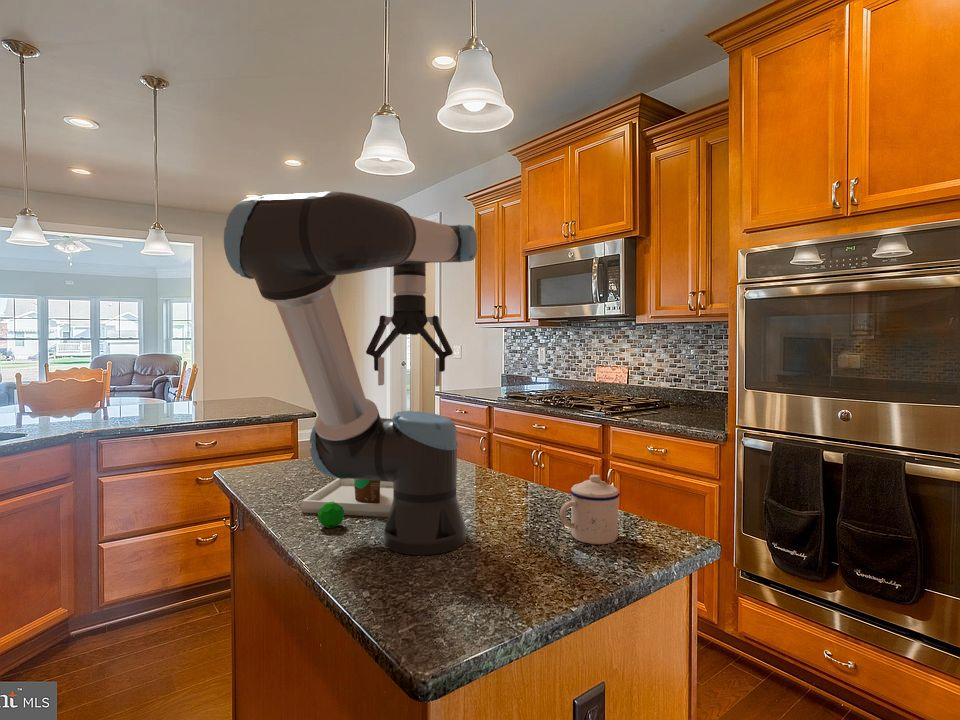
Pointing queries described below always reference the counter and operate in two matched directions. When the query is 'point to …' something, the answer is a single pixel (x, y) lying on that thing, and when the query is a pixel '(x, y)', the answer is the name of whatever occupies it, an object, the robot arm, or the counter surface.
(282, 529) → the counter surface
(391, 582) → the counter surface
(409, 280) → the robot arm
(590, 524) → the teacup with lid
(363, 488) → the food container
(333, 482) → the tray
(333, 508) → the polyhedron
